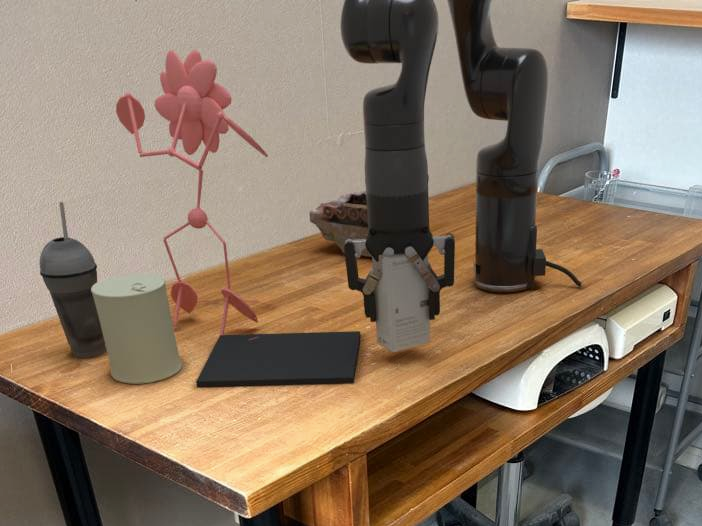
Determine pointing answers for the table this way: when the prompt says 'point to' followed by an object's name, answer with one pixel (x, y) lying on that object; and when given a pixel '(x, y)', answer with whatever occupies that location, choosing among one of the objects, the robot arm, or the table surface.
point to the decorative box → (343, 219)
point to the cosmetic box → (401, 304)
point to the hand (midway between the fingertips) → (402, 318)
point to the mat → (281, 359)
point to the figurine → (190, 147)
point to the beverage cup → (73, 292)
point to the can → (137, 327)
